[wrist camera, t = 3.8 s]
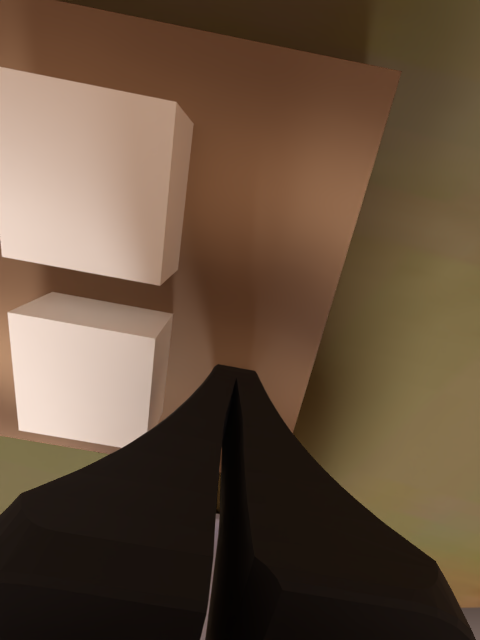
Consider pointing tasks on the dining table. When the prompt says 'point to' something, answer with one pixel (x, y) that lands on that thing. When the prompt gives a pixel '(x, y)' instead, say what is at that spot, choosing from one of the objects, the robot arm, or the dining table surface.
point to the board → (218, 191)
